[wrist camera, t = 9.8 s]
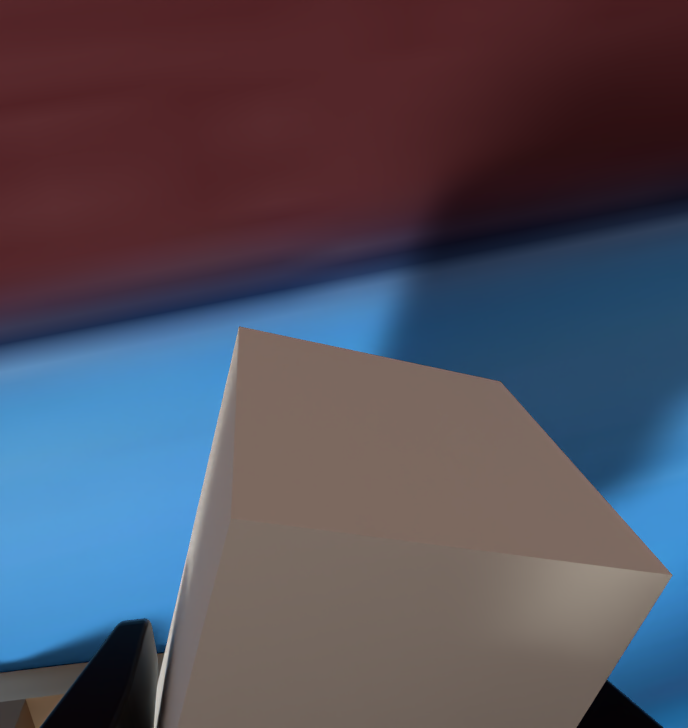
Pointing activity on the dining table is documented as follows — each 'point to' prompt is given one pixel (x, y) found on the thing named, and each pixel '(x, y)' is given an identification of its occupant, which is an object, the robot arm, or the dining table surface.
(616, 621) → the cream bar
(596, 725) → the robot arm
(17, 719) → the comb board
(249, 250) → the dining table surface
